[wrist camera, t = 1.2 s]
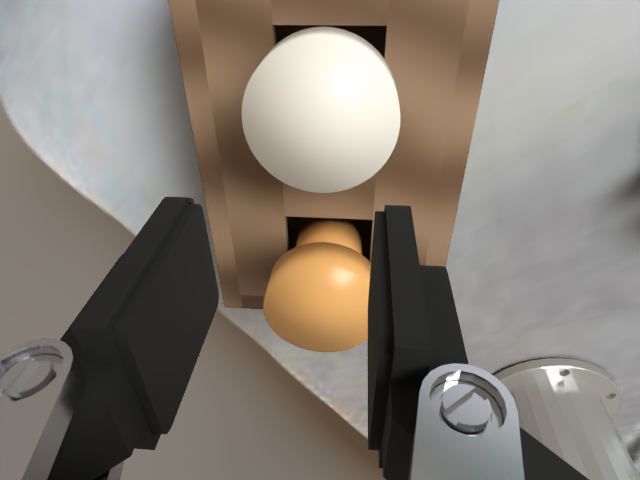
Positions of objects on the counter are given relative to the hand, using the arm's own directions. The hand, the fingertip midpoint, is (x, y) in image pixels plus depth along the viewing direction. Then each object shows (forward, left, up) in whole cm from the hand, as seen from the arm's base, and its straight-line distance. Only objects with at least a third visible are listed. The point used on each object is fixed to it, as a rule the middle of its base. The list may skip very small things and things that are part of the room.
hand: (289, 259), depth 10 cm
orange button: (-10, 0, -14) cm, 17 cm away
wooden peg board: (-5, 0, -19) cm, 20 cm away
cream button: (0, 0, -14) cm, 14 cm away
